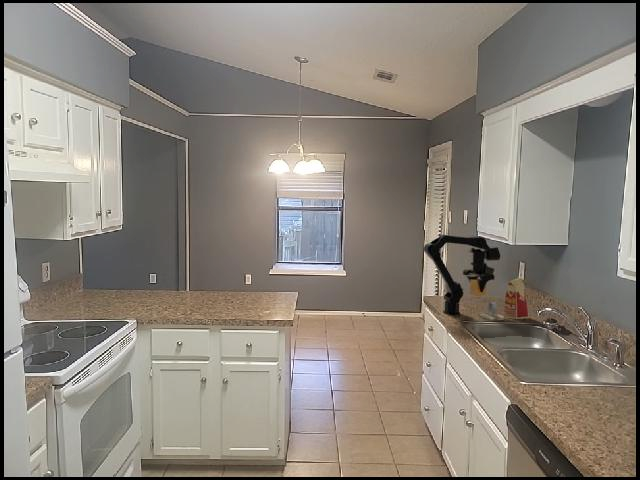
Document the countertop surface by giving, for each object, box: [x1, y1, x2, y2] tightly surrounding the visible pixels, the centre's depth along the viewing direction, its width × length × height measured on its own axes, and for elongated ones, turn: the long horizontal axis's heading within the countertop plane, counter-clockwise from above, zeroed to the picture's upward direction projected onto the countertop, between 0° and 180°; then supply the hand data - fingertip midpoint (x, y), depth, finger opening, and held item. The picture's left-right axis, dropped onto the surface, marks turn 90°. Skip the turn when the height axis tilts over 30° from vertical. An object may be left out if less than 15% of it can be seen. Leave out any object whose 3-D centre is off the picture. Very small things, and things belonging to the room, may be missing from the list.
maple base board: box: [480, 312, 506, 322], centre depth 234 cm, size 7×9×1 cm
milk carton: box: [503, 276, 530, 320], centre depth 235 cm, size 9×9×20 cm
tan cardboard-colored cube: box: [469, 278, 487, 297], centre depth 244 cm, size 6×6×8 cm
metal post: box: [488, 301, 498, 316], centre depth 234 cm, size 3×3×6 cm
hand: (478, 291), depth 245 cm, fingers closed on tan cardboard-colored cube, 6 cm apart
